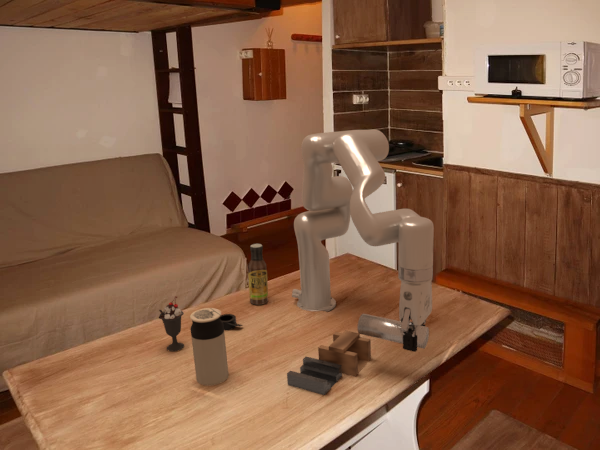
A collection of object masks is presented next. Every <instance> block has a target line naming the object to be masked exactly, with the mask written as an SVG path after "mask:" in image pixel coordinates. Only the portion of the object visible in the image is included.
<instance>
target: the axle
mask: <svg viewBox="0 0 600 450" xmlns="http://www.w3.org/2000/svg"><path fill="white" fill-rule="evenodd" d="M401 326H402V323H401V322H400V320H397V319H392V318H386V317H382V316H379V315H378V316H376V315H372V314H368V313H362V314H360V316H359V317H358V322H357V333H359V334H360V335H363V336H367V337H371V338H377V339H381V340H385V341H389V342H393V343H397V344H402V345H403V331H402V330H401ZM409 328H411V329H412V330H413V326H412V325H409ZM416 335H417V348H418V349H422V350H423V349H425V348H427V345H428V342H429V337H430V336H429V335H430V328H429V327H428V326H426V325H425V326H417V329H416Z"/></svg>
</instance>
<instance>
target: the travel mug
mask: <svg viewBox="0 0 600 450" xmlns="http://www.w3.org/2000/svg"><path fill="white" fill-rule="evenodd" d="M221 315H222V311H221V310H220V309H218V308H215V307H205V308H200V309H197V310H195V311H193V312H192V313H191V314H190V316H189V319H190V320H191V322H192V324H191V326H190V328H189V330H190V336H191V337H190V338H191V344H192V353H193V360H194V361H193V362H194V369H195V377H196V378H195V379H196V382H197V383H198V384H200V385H201V386H206V387H207V386H208V387H210V386H216V385H219V384H222V383H224V382H225V381H227V379H228V378H229V375H230V374H229V365H228V364H229V363H228V356H227V346H226V335H225V334H226V333H225V330H224V324H223V322H222V321H221V320H220V316H221Z"/></svg>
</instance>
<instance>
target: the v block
mask: <svg viewBox="0 0 600 450" xmlns="http://www.w3.org/2000/svg"><path fill="white" fill-rule="evenodd" d="M299 371H300V372H297V371H294V370H293V371H292V370H289V371H288V372H287V373H286V378H287V381H286V382H287V386H291V387H294V388H297V389H301V390H304V391H307V392H312V393H316V394H319V395H323V396H325V395H327V393H328V392H329V391H330V390H332V388H333V387H334V386H335V385H336V383H338V381H339V380H340V379H341V378H343V373H342V365H339V364H335V363H331V362H327V361H323V360H319V358H313V357H310V356H305V357H303V358H302V365H301V366H300V367H299Z"/></svg>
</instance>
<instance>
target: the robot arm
mask: <svg viewBox="0 0 600 450" xmlns="http://www.w3.org/2000/svg"><path fill="white" fill-rule="evenodd" d="M389 145H390V143H389V141H388V138H387V137H386V135H385V134H384V133H383V132H382V131H381V130H378V129H372V128H371V129H352V130H341V131H327V132H317V133H311V134H308V135H306V136H305V137H304V138H303V139H302V142H301V145H300V147H301V148H300V153H301V159H302V163H303V173H302V184H301V185H302V186H301V204H302V206H303V208H304V209H306V210H307V211H304V212H301V213H299V214H297V215H296V217H295V218H294V221H293V229H294V233H295V237H296V242H297V249H298V264H299V276H300V278H299V279H300V289H297V288H293V289H292V291H291V292H292V293H291V297H292V298H297V299H298V300H297V302H296V306H297V307H298V308H299V309H301V310H303V311H308V312H330V311H332V310H333V309H334V308H336V306H337V301H336V299H335V298H333V297H332V294H331V273H330V272H331V271H330V253H329V251H328V248H326V246H325V245H324V244H323V243H322V241H324V240H327V239H333V238H337V237H341V236H344V235H346V233H348V230H349V228H350V222H351V220H352V223H353V225H354V226H355V228H356V231H357V233H358V235H360V236H359V237H360V238H361V239H362V240H363V242H364V243H366V245H368V246H370V247H381V246H386V245H391V244H396V243H398V266H397V267H398V270H397V271H398V276H397V277H398V278H397V279H398V280H399V281H400V291H399V303H398V305H399V306H398V310H399V311H398V314H399V321H400V322H401V323H402V326H401V330H402V331H403V344H402V349H403V350H406V351H410V352H412V353H413V352H415V353H416V352H417V351H418V347H417V335H416V329H417V326H425V327H426V322H427V318H428V317H429V316H430V314H431V313H432V311H433V288H432V281H433V272H434V271H433V270H434V269H433V267H434V240H435V239H434V238H435V237H434V232H435V231H434V230H435V229H434V222H433V220H431V219H429V218H427V217H424V216H421V215H420V214H418V213H417V212H415V210H413V209H410V208H400V209H395V210H394V209H393V210H386V211H380V212H375V213H372V211H371V209H370V208H369V206H368V204H367V203H366V198H368V197H369V196H371V195H372V194H373V193H375V192H376V191H377V190H378V189H379V188H380V187H382V186H383V183H385V180H386V173H385V170H384V169H383V167H382V165H380V162H381V161H383V160H385V159H386V158H387V156H388V155H389V151H390V146H389ZM334 163H339V165H340V166H341V169H342V170H343V173H344V174H345V175H346V176H342V175H336V176H333V164H334ZM411 320H412V321H411ZM409 325H412V326H413V330H412V329H411V328H409Z"/></svg>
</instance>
